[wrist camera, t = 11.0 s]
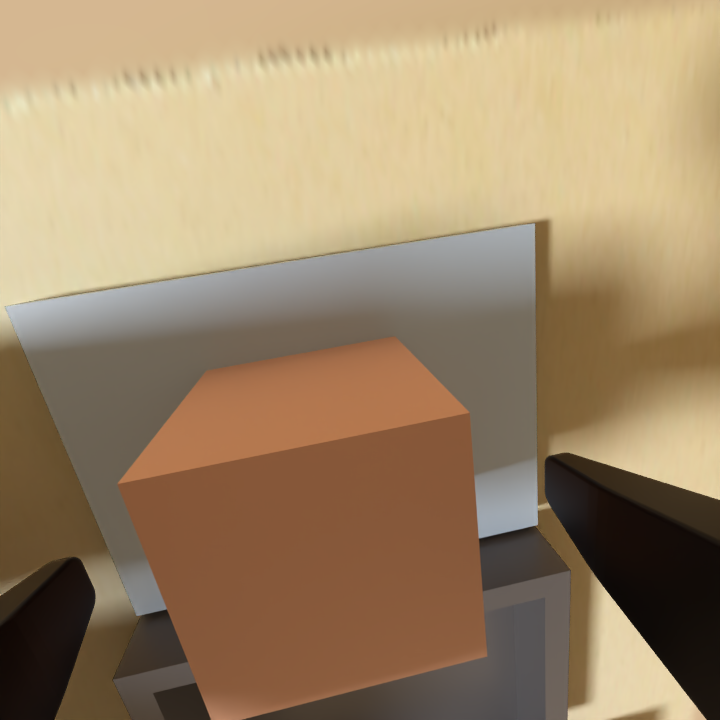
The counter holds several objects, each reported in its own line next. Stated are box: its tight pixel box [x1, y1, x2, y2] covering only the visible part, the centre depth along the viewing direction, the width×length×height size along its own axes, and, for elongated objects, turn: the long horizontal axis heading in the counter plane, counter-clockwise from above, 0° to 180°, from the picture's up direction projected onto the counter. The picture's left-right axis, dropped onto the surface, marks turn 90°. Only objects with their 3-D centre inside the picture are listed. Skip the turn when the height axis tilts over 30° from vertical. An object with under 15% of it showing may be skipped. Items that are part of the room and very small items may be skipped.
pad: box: [5, 223, 538, 616], centre depth 11 cm, size 13×10×1 cm
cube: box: [117, 336, 487, 720], centre depth 9 cm, size 5×5×5 cm
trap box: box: [113, 526, 571, 720], centre depth 14 cm, size 13×11×2 cm
